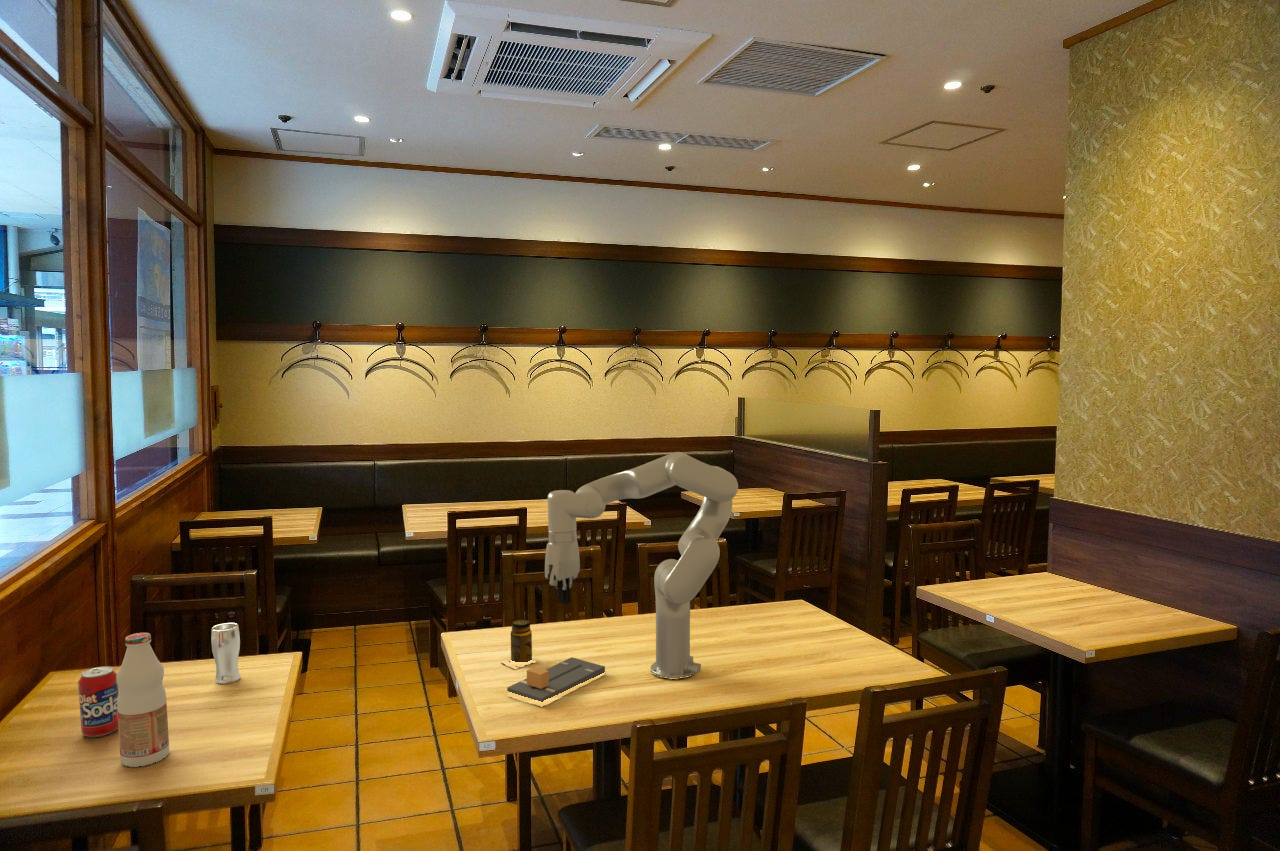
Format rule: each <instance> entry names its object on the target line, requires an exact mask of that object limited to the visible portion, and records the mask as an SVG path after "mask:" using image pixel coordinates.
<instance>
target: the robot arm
mask: <svg viewBox="0 0 1280 851" xmlns="http://www.w3.org/2000/svg"><path fill="white" fill-rule="evenodd" d="M737 480H738V479H737V478H736V477H735V475H734V474H732V473H731V472H730V471H727V470H726V469H724V468H723V467H720V466H716V465H710V464H708V463H705V462H702V461H701V460H698V459H696V458H694V457H692V456H690V455H689V454H686V453H685V452H681V451H675V452H671V453H669V454H666V455H664V456H662V457H659V458H655V459H654V460H652V461H649V462H646V463H645V464H644V463H643V464H641V465H639V466H636V467H633V468H630V469H627V470H623V471H621V472H617V473H614V474H610V475H606V476H605V477H604V476H603V477H601V478H599V479H596V480H593V481H591V482H589V483H586V484H584V485H581V487H579V488H578V489H577V490H576V491H575V492H574V491H572V490H568V489H567V490H566V489H559V490H553V491H550V492H549V493H548V494H547V523H548V524H547V525H548V527H547V528H548V529H547V530H548V542H547V543H546V548H545V557H544V577H545V579H546V580H549V582H548V583H549V586H551V587H552V586H553V587H555V589H557V603H558V604H563V605H568V604H570V603H571V602H572V601H571V600H572V597H571V596H572V595H571V588H572V587H573V582H574V580H575V579H576V578H578V577H579V576H578V575H579V573H580V570H581V569H580V568H581V560H580V559H581V558H580V550H579V549H580V548H579V543H578V538H577V536H578V535H577V519H587V520H588V519H592V520H593V519H597V518H599V517H600V516H602V515H603V514H604V513H605V510H606V505H607V504H611V503H613V502H616V501H621V500H626V499H644V498H647V497H651V496H652V495H655V494H657V493H659V492H662V491H664V490H667V489H670V488H672V487H674V486H677V487H679V488H682V489H684V490H687V491H689V492H691V493H693V494H697V495H698V496H701V497H702V502H701V506H700V508H699V509H698V512H697V513H696V515H695V516H694V517H693V519H692V521H691V522H690V523H689V525H688V526H687V528H686V529H685V531H684V532H683V533H682V535H681V537H680V538H679V540H678V544H677V546H678V547H677V548H678V549H677V550H678V552H679V554H680V555H681V556H680V557H679V559H678V560H677V559H673V558H669V559H665V560H663V561H662V562H660V563H659V564H658V565H657V567H656V569H655V571H654V575H653V576H654V579H653V580H654V586H653V587H654V594H655V596H654V598H655V662H653V663H652V664H651V665H650V669H651V671H650V673H651V672H652V673H654V674H656V675H658V676H662V677H667V678H680V677H686V676H690V675H692V674H693V673H694V674H698V675H699V674H700V673H701V667H702V664H701V663H698V662H695V661H694V656H693V655H691V604H690V603H691V601H692V600H693V599H694V598H695V597H696V596H697V594H698V593H699V592H700V591H701V589H702V587H703V586H704V585H705V583H706V582H707V580H708V579H709V578H710V575H712V573H713V572H714V570H715V568H716V566H717V565H718V563H719V559H720V555H721V553H720V552H721V550H720V546H719V543H718V542H717V541H718V539H719V538H720V536H721V534H722V532H724V529H725V528H726V526H727V524H728V522H729V520H730V518H731V516H732V512H733V499H734V498H735V496H736V495H737V493H738V492H739V483H738V481H737ZM650 669H649V670H650ZM652 673H651V674H652ZM694 674H693V675H694ZM693 675H692V676H693ZM690 677H691V676H690Z"/></svg>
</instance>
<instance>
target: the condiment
mask: <svg viewBox="0 0 1280 851" xmlns="http://www.w3.org/2000/svg"><path fill="white" fill-rule="evenodd" d="M532 633H533V632H532V630H531V622H530V621H529V620H528V619H516V620H513V621H512V623H511V631H510V659H511V660H512V661H515V662H528V661H530V660H532V659H533V644H532V643H533V641H532V638H533V634H532Z"/></svg>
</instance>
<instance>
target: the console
mask: <svg viewBox="0 0 1280 851" xmlns="http://www.w3.org/2000/svg"><path fill="white" fill-rule="evenodd" d="M605 667H606V666H605V665H601V664H598V663H594V662H590V661H588V660H587V661H586V660H583V659H579V658H576V657H571V656H570V658H569V657H568V658H567V659H565V660H563V661H559V663H556V664H554V665H552V666H550V667H547V668H545V670H547V671H549V685H548V686H546V687H544V688H542V689H540V688H537V687H533V686H530V685H527V677H526V678H525V679H521V680H519V681H518V682H516V683H514V684H512V685H509V686H508V687H507V688H506V689H507V691H509V692H512V693H515V694H518V695H521V696H524V697H528V698H531V699H534V700H538V701H541V702H543V701H544V700H546V699H548V698H551V697H553V696H555V695H558V694H559V693H562V692H564V691H566V690H568V689H570V688H572V687H574V686H576V685H578V684H580V683H583V682H585V681H587V680H589V679H591V678H594V677H596V676H598V675H600V674H602V673H604V672H605V673H606V668H605Z"/></svg>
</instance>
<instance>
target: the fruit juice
mask: <svg viewBox="0 0 1280 851" xmlns="http://www.w3.org/2000/svg"><path fill="white" fill-rule="evenodd" d="M151 642H152V635H151V633H149V632H136V633H133V634H129V635H127V636H126V637H125V638H124V643H125V646H126V651H125V653H124V657H123V659H122V664H121V665H120V667H119V668H118V670H117V672H116V673H117V675H116V682H117V686H118V691H119V695H118V699H117V712H118V727H119V728H118V739H119V740H118V741H119V755H120V762H121V764H122V765H123V766H124V765H125V767H127V766H129V768H140V767H139V766H142V767H146V766H145V765H147V766H149V764H150V765H154V764H156V763H158V762H161V761H162V760H163V758H164V759H165V758H166V757H167V756H168V754H169V752H170V737H169V723H168V722H169V721H168V705H167V701H168V700H167V692H166V689H165V686H164V685H163V681H164V676H165V670H164V666H163V664H162V662H160V660H159V659H158V657H157V656H156V654H155V651H154V650H153V648H152V646H151ZM155 762H156V763H155ZM153 763H154V764H153Z"/></svg>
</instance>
